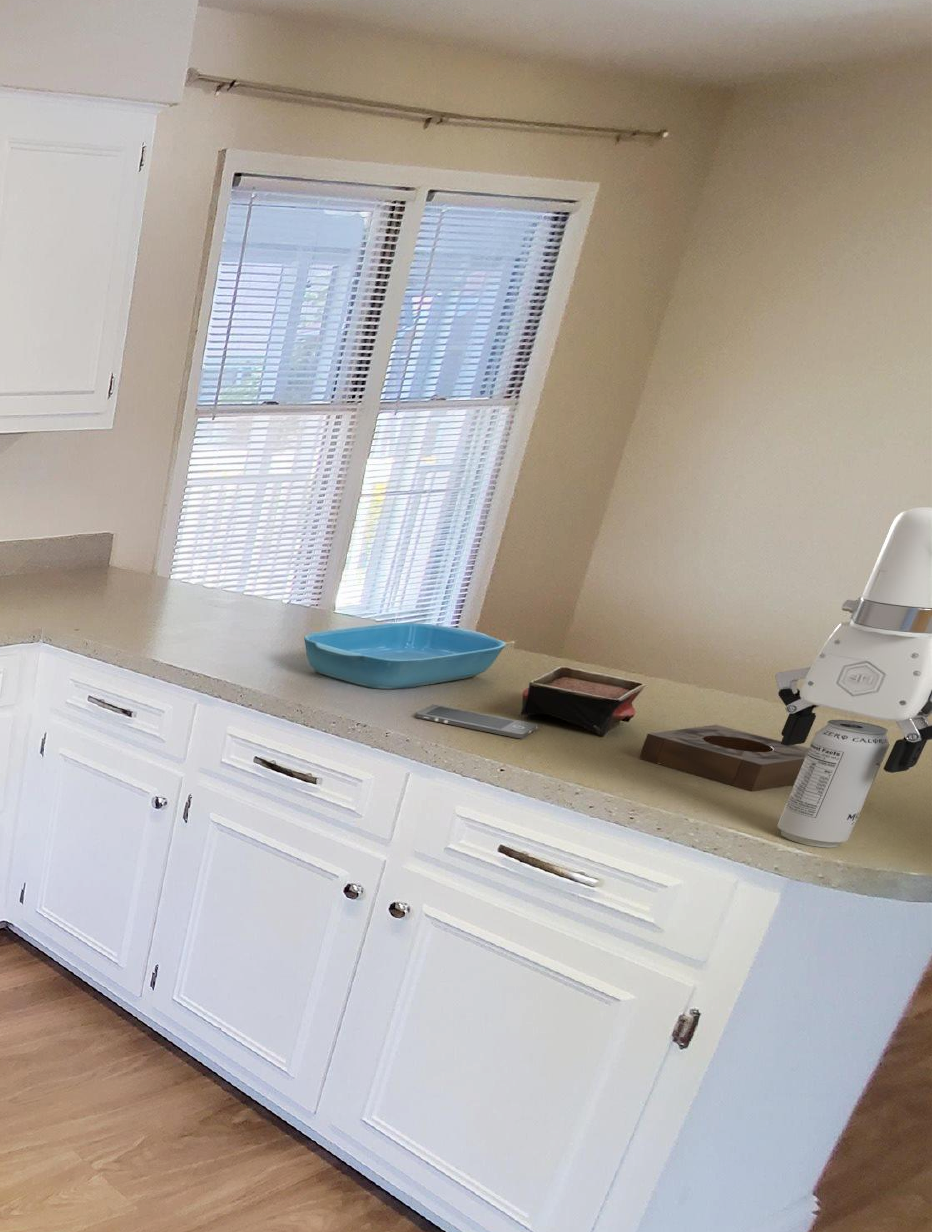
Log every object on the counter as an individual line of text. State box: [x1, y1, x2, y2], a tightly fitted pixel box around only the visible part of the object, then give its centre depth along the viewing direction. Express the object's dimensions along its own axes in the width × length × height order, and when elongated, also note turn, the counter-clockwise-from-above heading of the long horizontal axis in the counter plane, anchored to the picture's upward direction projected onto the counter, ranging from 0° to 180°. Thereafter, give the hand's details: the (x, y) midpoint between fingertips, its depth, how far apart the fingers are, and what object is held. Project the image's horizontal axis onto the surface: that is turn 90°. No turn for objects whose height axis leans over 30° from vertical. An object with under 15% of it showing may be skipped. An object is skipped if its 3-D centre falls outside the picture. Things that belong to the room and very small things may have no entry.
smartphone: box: [414, 704, 539, 739], centre depth 171 cm, size 15×8×1 cm, turn 36°
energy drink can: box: [776, 719, 890, 849], centre depth 125 cm, size 6×6×15 cm
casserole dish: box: [303, 622, 507, 690], centre depth 199 cm, size 37×22×7 cm, turn 108°
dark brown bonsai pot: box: [518, 666, 646, 738], centre depth 170 cm, size 14×18×10 cm
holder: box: [638, 724, 809, 792], centre depth 149 cm, size 14×14×4 cm
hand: (842, 756), depth 124 cm, fingers open, 9 cm apart
